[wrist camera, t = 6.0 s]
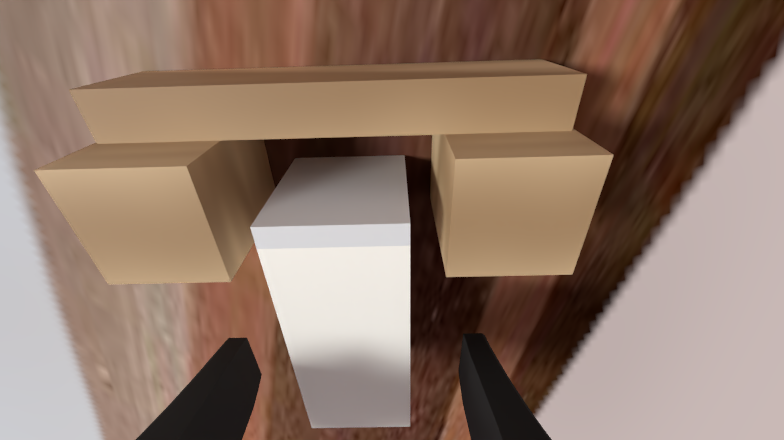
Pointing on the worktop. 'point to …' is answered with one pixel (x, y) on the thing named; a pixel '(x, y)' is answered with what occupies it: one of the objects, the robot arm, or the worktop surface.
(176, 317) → the worktop surface
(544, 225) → the tan bridge
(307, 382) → the white block
